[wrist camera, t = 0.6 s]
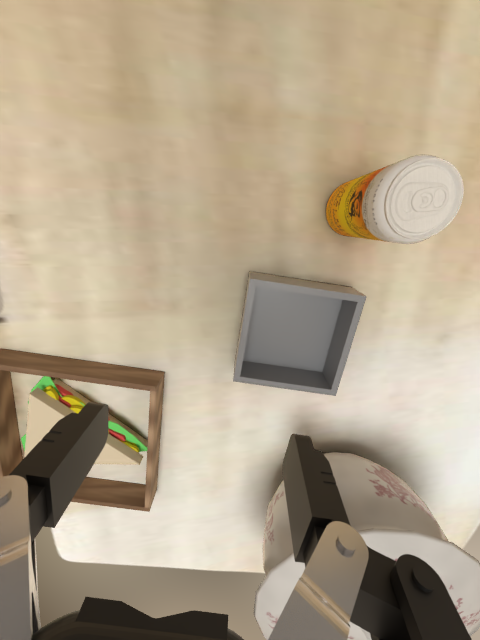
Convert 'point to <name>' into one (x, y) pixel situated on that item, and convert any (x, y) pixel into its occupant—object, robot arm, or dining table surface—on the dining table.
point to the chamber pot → (368, 540)
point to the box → (296, 333)
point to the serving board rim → (3, 435)
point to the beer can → (398, 201)
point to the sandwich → (61, 400)
